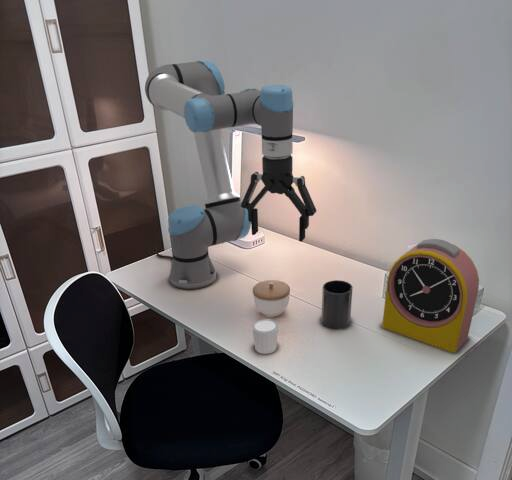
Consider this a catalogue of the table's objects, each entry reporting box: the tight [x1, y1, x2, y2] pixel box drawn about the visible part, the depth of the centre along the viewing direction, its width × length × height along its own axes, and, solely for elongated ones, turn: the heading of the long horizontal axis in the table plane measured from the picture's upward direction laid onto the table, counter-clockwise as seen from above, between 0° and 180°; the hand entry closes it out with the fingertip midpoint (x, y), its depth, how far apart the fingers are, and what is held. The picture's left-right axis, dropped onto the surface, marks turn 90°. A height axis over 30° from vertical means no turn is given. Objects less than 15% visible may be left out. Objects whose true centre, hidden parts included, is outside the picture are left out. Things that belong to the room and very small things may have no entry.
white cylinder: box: [251, 318, 279, 355], centre depth 137 cm, size 7×7×7 cm
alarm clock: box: [381, 238, 480, 353], centre depth 135 cm, size 21×9×26 cm, turn 50°
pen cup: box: [321, 279, 354, 330], centre depth 146 cm, size 8×8×11 cm
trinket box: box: [252, 279, 291, 318], centre depth 152 cm, size 11×11×9 cm
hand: (278, 236), depth 141 cm, fingers open, 13 cm apart
